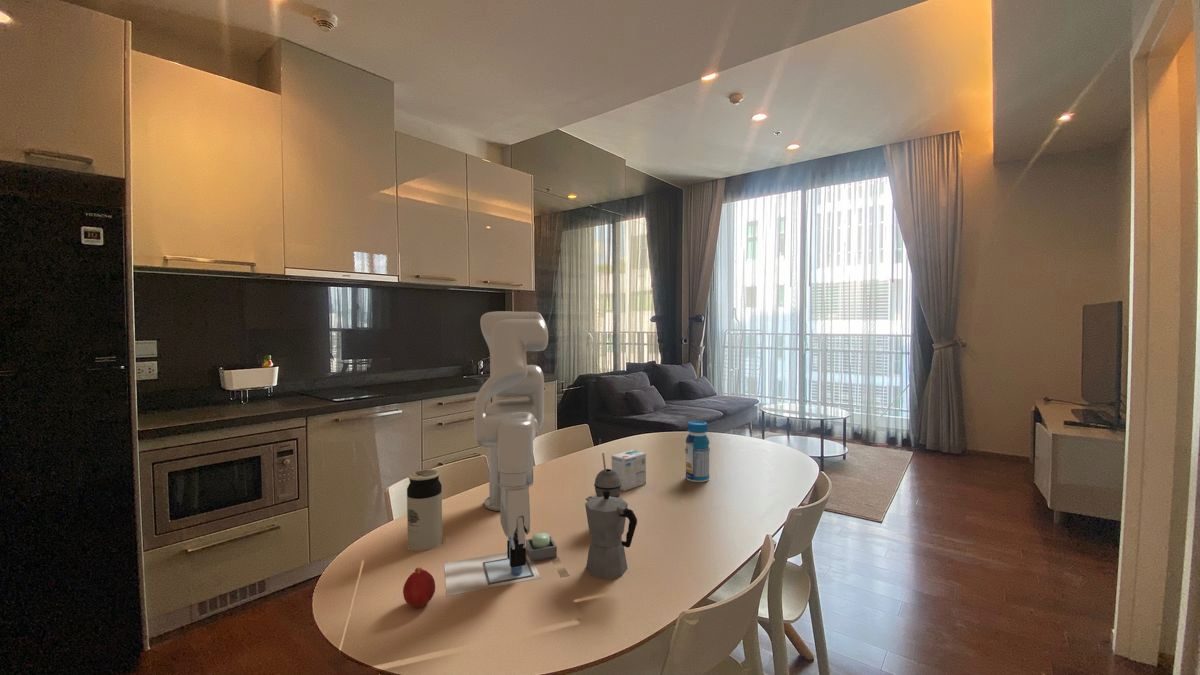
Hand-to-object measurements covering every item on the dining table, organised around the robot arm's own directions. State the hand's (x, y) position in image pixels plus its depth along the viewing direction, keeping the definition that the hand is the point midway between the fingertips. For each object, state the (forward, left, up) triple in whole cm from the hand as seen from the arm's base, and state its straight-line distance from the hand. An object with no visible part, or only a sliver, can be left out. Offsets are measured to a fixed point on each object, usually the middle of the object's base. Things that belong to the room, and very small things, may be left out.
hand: (516, 560), depth 102 cm
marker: (0, 0, -2) cm, 2 cm away
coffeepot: (+6, +19, -4) cm, 21 cm away
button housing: (-7, +7, -3) cm, 10 cm away
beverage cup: (-16, +27, -4) cm, 32 cm away
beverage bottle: (-42, +71, -4) cm, 83 cm away
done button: (-7, +7, -1) cm, 10 cm away
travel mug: (-22, -19, -4) cm, 29 cm away
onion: (+5, -20, -4) cm, 20 cm away
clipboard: (-3, -3, -3) cm, 6 cm away
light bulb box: (-45, +46, -4) cm, 65 cm away
